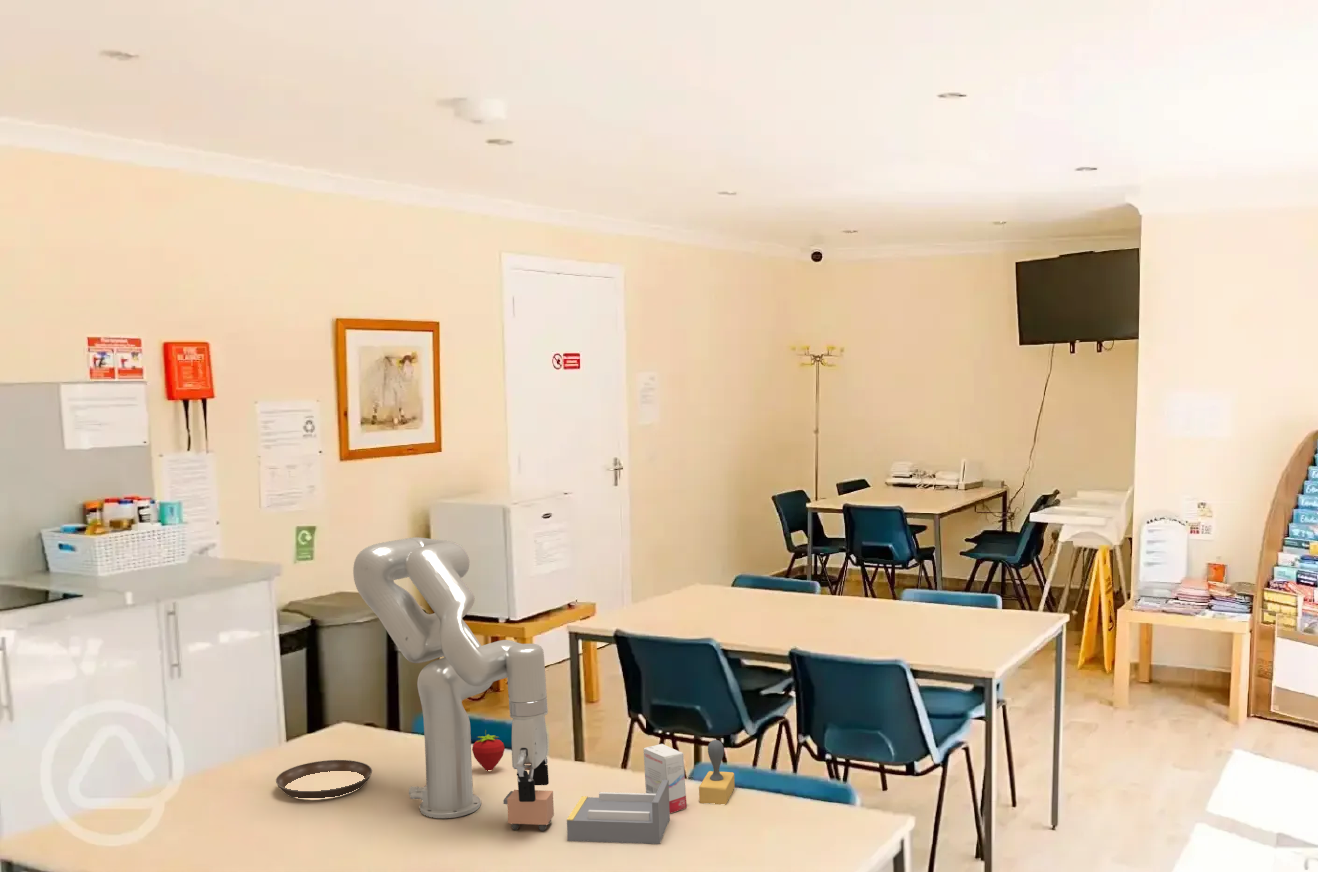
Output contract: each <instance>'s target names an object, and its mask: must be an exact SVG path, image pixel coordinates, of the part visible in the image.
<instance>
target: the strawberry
mask: <svg viewBox="0 0 1318 872" xmlns="http://www.w3.org/2000/svg"><path fill="white" fill-rule="evenodd" d="M484 734H485V736H483V735H482V736H480V735H479V736H477V738H478V740H476V741H475V742H474V743H473V745H472V747H471V752H472V754H473V756H474V759H475V760H476V761H477V762H478V764H479V765H480V766H481V767H482V768H483V769H484V770H485V771H486V770H487V771H488V770H492V771H493V770H494V768H496V766H497V765H498V764H499V762H500V761H501V759H502V758H503V756H504V752H505V744H504V742H502V740H500V739H498V738H499V736H496V735H490V734H489V733H488V734H487V730H486V729H485V731H484ZM487 771H486V772H487Z"/></svg>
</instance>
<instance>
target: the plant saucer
mask: <svg viewBox="0 0 1318 872" xmlns="http://www.w3.org/2000/svg"><path fill="white" fill-rule="evenodd" d="M328 771H329V772H330V771H351V772H357V773H359V774H361V775H363V776H364V778H365V779H363V780H362V781H359V782H357V783H355V784H352V785H349V786H345V787H341V788H336V789H330V790H321V791H298V790H291V789H287V788H285V786H286V785H287V784H288V783H291V782H292V781H294V780H296V779H298V778H301V777H303V776H306V775H310V774H315V773H320V772H328ZM372 773H373V769H372V767H371V766H370V765H368V764H367V763H364V762H361V761H356V760H351V759H349V760H348V759H329V760H319V761H311V762H308V763H303V764H300V765H297V766H293V767H290V768H288V769H286V770H284V771H282V772H281V773H280V774H278V775H277V777H276V779H275V784H276V785H277V788H279V789H280V790H281V791H282V792H283V793H284V794H285V795H287V796H288V795H289V796H288V797H290V796H291V797H290V798H292V797H298V798H325V797H335V796H340V795H343V794H346V793H349V792H352V791H354V790H356V789H358V788H360V787H361V786H362V787H363V786H364V785H366V783H367V782H368V781H369V779H370V777H371V775H372ZM362 787H361V788H362ZM361 788H360V789H361ZM358 790H359V789H358Z"/></svg>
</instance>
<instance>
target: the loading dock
mask: <svg viewBox="0 0 1318 872" xmlns="http://www.w3.org/2000/svg"><path fill="white" fill-rule="evenodd" d="M670 814H671V813H670V810H669V780H662V782H661V784H660V787H659V789H658V791H657V793H656V794H649V793H646V792H645V793H643V792H610V791H608V792H607V791H602V792H601V791H599V793H598V797H593V796H592V797H589V796H587V795H586V796H585V795H582V796H581V797H580V799H579V800H578V802H577V803H576V804H575V806H574V807H573V808H572V811H571V812H570V814H569V816H568V817H567V818H566V829H567V830H566V833H567V834H566V835H567V842H590V843H591V842H592V843H616V844H619V843H622V844H648V845H650V844H651V845H660V844H661V841H662V838H663V837H664V834H665V831H666V829H667V827H668V825H669V822H670V819H671V817H670V816H671V815H670Z"/></svg>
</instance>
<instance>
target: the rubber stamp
mask: <svg viewBox="0 0 1318 872" xmlns="http://www.w3.org/2000/svg"><path fill="white" fill-rule="evenodd" d="M724 748H725V747H724V745H723V742H721V740H718V739H712V740H711V741H710V742H709V743H708V746H707V753H708V754H707V755H708V758H709V760H710V762H711V764H712V765H711V766H712V769H713V771H711V770H709V771H708V772H707V773H706V775H705V776H704V778H703V779H702V781H701V782H700V784H699V787H698V795H699V798H698V801H699V804H704V803H715V804H714V805H721V804H725V805H726V804H727V803H728V801H729V800H730V797H731V795H732V794H733V792H734V790H735V787H736V786H735V773H734V772H732V771H731V772H730V771H720V766H721V764H722V760H723V757H724V754H725V749H724ZM733 789H734V790H733Z"/></svg>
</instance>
